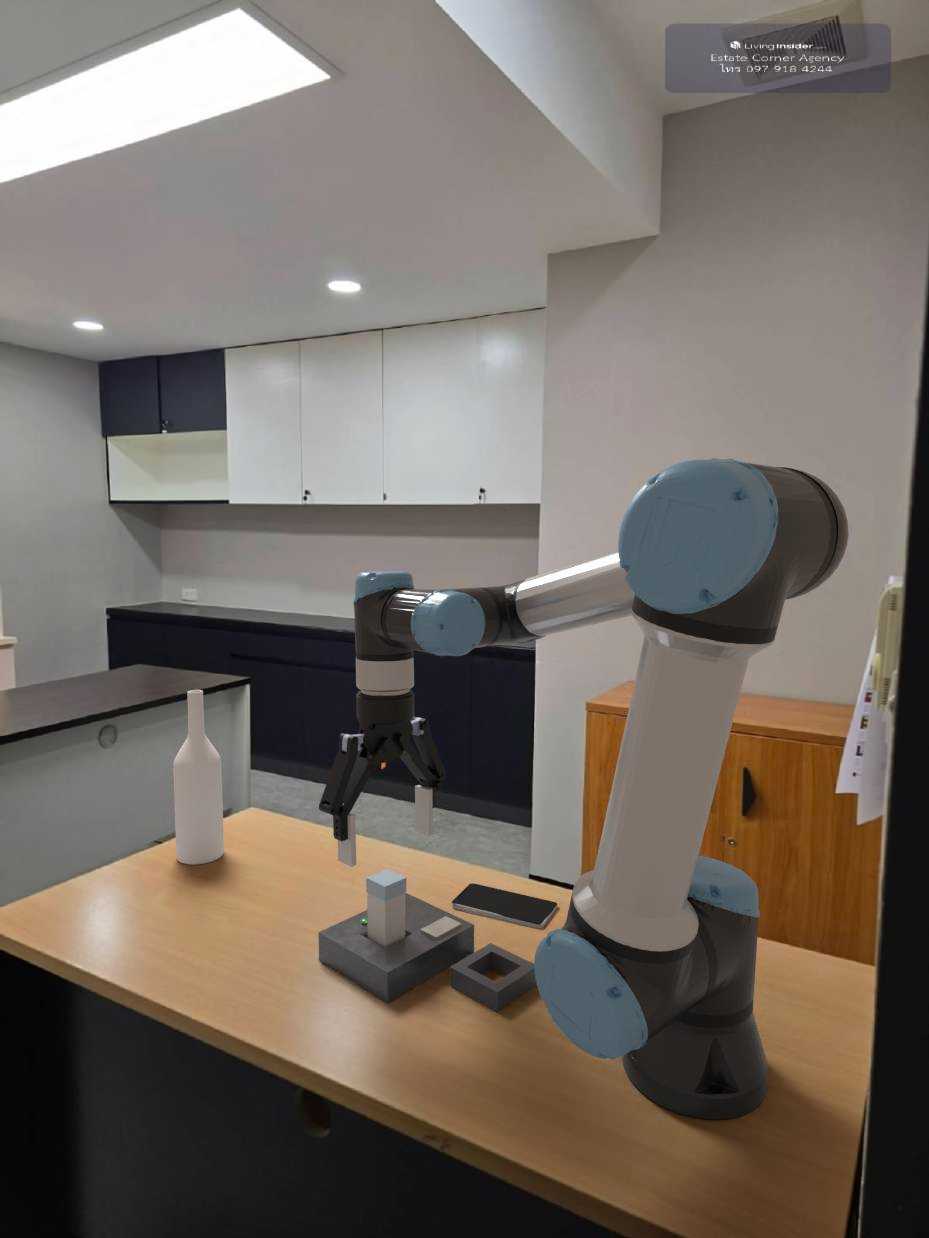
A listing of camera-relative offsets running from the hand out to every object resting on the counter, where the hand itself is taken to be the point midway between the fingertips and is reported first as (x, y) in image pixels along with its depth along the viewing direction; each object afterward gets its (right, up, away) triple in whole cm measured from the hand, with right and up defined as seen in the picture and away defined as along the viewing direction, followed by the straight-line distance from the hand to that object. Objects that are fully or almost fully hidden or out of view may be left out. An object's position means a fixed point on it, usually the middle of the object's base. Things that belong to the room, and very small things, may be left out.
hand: (387, 847), depth 102 cm
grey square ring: (+14, -17, -3) cm, 22 cm away
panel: (+1, -16, +4) cm, 16 cm away
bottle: (-37, -12, +36) cm, 53 cm away
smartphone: (+16, -15, +18) cm, 29 cm away
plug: (0, -16, +2) cm, 16 cm away
